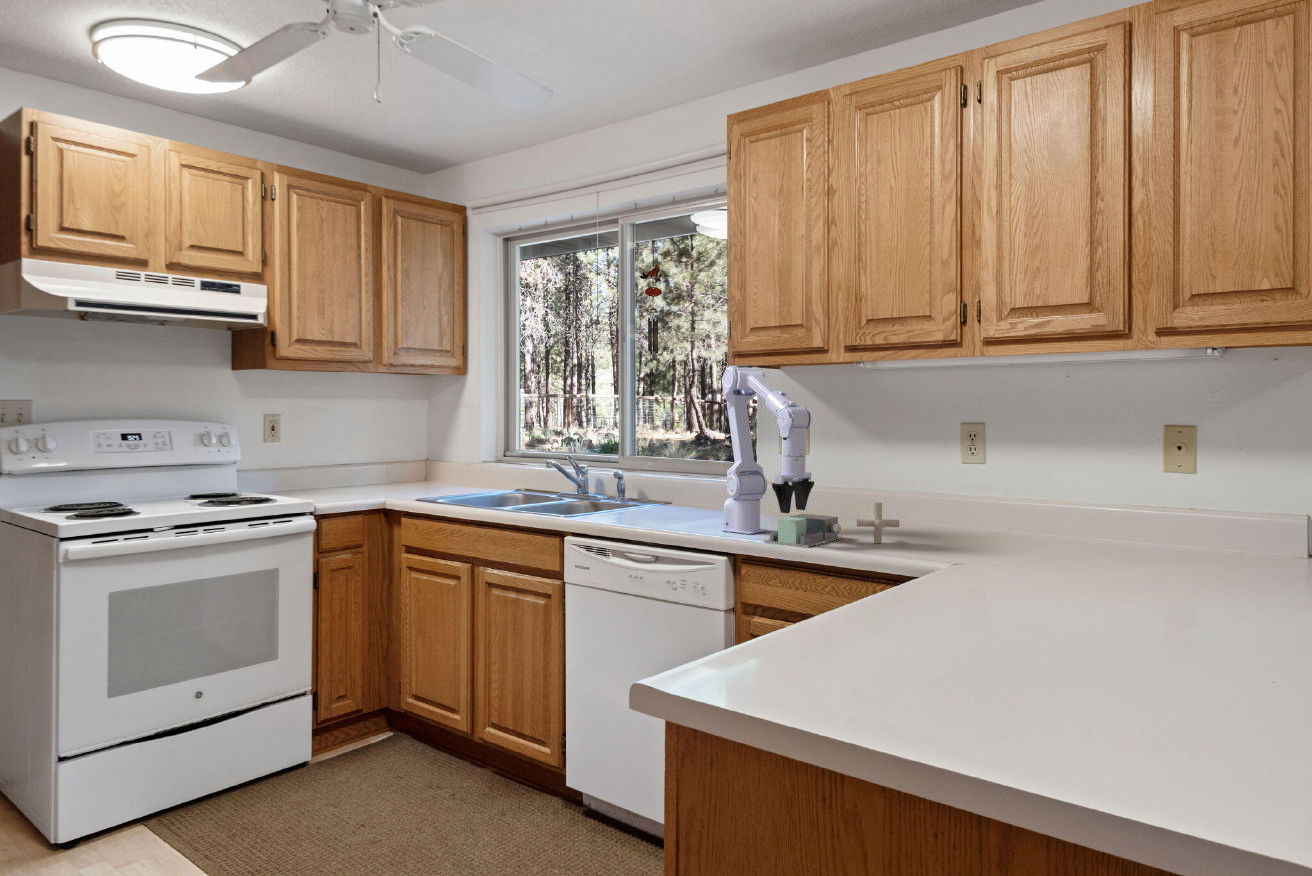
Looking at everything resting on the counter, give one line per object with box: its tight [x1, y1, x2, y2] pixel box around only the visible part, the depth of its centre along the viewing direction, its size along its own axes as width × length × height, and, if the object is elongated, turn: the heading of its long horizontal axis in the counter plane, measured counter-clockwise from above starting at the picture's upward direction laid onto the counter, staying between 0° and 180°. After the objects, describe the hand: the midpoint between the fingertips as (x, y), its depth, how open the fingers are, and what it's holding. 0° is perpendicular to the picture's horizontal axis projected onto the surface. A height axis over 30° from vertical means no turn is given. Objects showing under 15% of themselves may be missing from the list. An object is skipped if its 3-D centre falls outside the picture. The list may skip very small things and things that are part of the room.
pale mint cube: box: [777, 516, 806, 543], centre depth 203 cm, size 5×5×6 cm
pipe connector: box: [856, 501, 901, 544], centre depth 203 cm, size 10×10×10 cm
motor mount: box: [763, 513, 843, 548], centre depth 207 cm, size 13×18×6 cm
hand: (792, 511), depth 203 cm, fingers open, 7 cm apart
